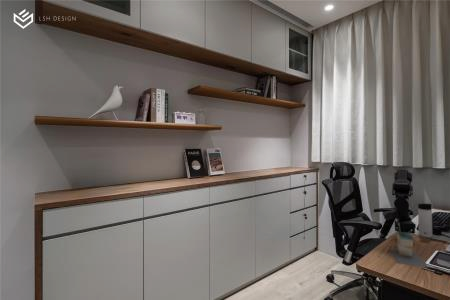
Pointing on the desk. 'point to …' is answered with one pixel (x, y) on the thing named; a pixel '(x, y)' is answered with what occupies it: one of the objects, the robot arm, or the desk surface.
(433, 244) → the desk surface
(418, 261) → the mat
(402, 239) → the ash block
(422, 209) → the travel mug
